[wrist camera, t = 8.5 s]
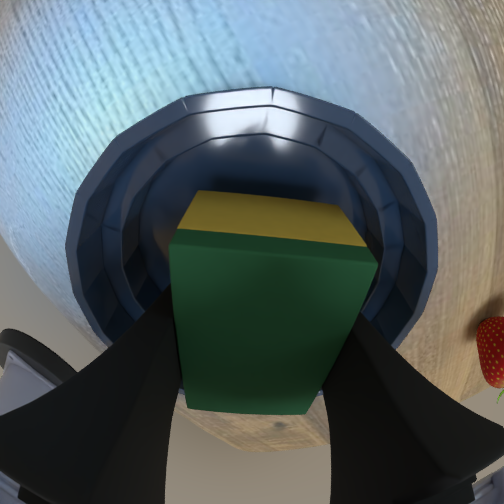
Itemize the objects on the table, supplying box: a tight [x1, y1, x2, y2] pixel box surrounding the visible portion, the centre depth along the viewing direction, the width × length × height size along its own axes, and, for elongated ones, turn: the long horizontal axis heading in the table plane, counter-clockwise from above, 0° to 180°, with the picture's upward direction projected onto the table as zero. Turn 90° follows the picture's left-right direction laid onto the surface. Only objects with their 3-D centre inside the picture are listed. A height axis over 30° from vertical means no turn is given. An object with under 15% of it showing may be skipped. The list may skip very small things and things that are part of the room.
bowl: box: [65, 86, 438, 397], centre depth 11 cm, size 13×13×4 cm
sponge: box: [168, 190, 378, 415], centre depth 9 cm, size 7×4×4 cm, turn 174°
